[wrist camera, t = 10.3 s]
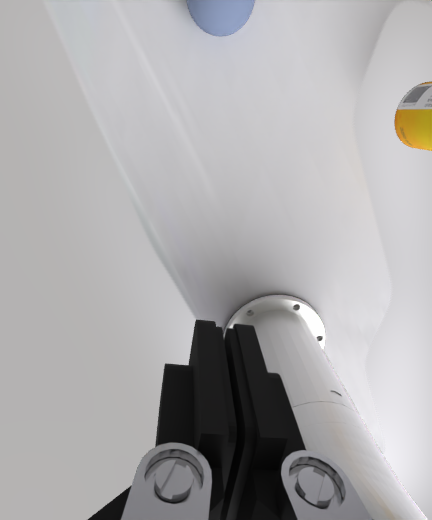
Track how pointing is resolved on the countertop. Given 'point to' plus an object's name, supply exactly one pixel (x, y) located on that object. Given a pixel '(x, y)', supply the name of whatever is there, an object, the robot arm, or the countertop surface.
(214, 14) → the blue ball
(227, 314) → the countertop surface
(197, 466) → the robot arm
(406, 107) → the drink can
